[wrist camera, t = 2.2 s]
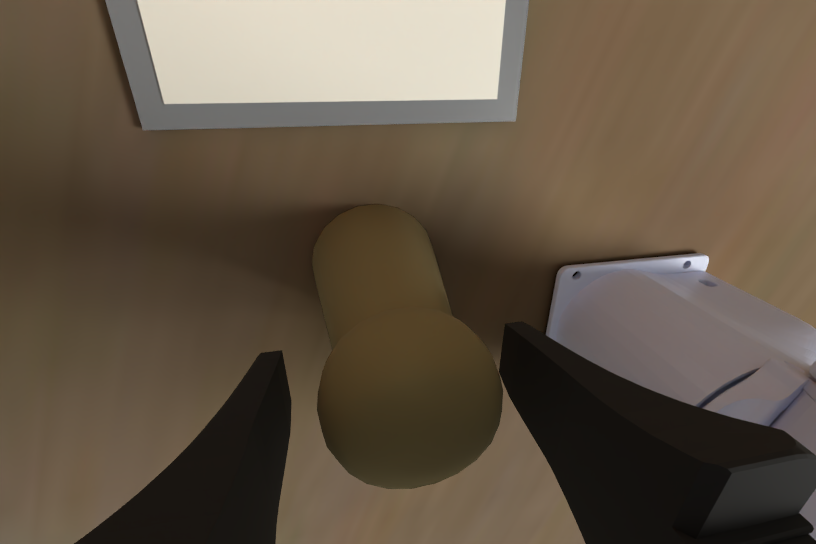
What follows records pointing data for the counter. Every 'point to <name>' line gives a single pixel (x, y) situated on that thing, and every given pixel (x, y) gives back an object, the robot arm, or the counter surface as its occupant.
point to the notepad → (320, 61)
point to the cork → (398, 356)
